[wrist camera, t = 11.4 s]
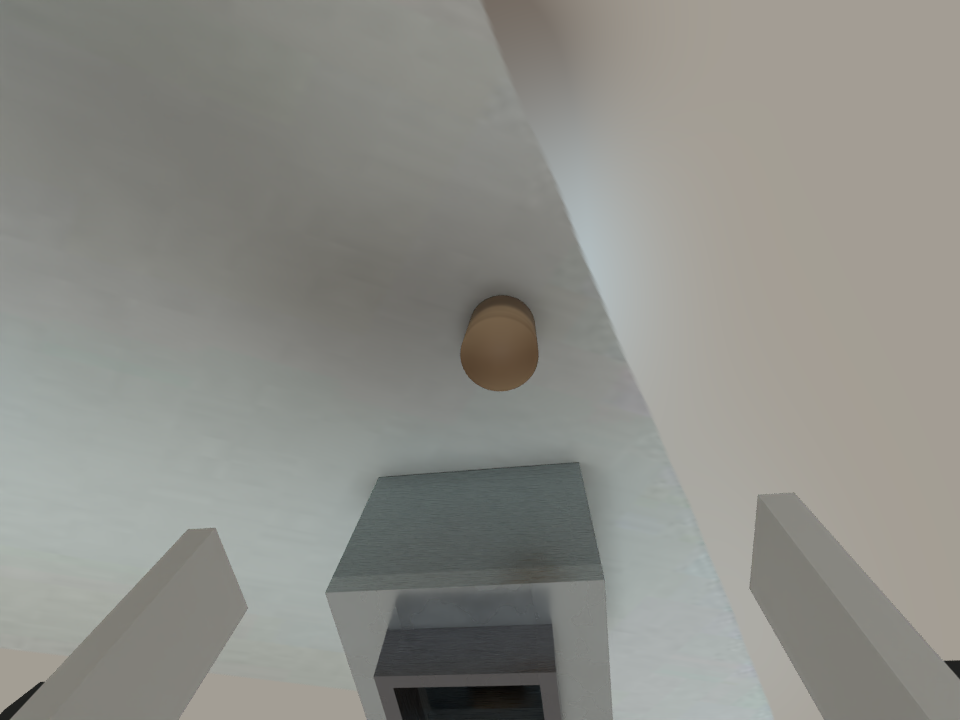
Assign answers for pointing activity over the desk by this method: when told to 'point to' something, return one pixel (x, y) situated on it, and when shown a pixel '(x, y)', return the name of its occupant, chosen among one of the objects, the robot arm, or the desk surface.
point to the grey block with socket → (476, 598)
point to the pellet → (500, 344)
